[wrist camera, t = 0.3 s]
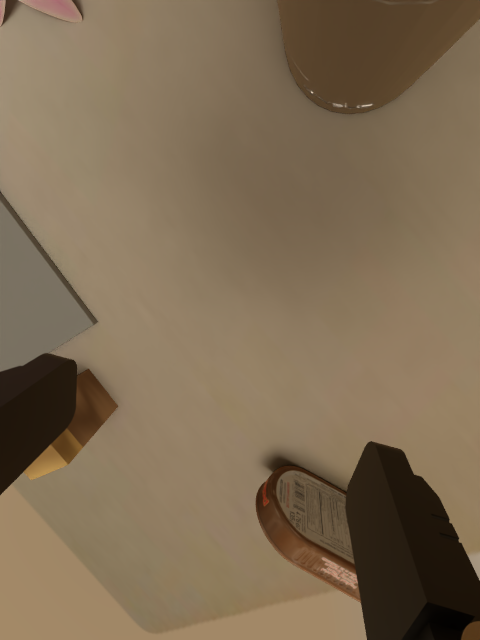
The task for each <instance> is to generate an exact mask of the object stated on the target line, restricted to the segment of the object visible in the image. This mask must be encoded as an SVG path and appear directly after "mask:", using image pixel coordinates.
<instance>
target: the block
mask: <svg viewBox="0 0 480 640" xmlns="http://www.w3.org/2000/svg"><path fill="white" fill-rule="evenodd" d="M117 407H118V405H117V404H116V403H115V402H114V400H113V399H112V398H111V397H110V395H109V394H108V393H107V391H106V390H105V389H104V388H103V386H102V385H101V384H100V383H99V381H98V380H97V379H96V377H95V376H94V375H93V374H92V372H91V371H90V370H89V369H88V370H86V371H84V372H82V373H80V374H79V375H77V393H76V410H75V414H74V417H73V419H72V421H71V423H70V424H69V426H68V427H67V429H66V430H65V431H64V432H63V433H62V434H61V435H60V436H59V437H58V438H57V439H56V440H55V441H54V442H53V443H52V444H51V445H50V446H49V447H48V448H47V449H46V450H45V451H44V452H43V453H42V454H41V455H40V456H39V457H38V458H37V459H36V460H35V461H34V462H33V463H32V464H31V465H30V466H29V467H28V468H27V469H26V470H25V471H24V473H25V474H26V475H27V476H28V477H29V478H30V479H31V480H33V479H35V478H38V477H40V476H42V475H45V474H47V473H50V472H52V471H54V470H57V469H59V468H61V467H64V466H66V465H68V464H69V463H70V462H71V461H72V460H73V458H74V457H75V456H76V455H77V454H78V453H79V451H80V450H81V449H82V448H83V447H84V446H85V444H86V443H87V442H88V441H89V440H90V439H91V437H92V436H93V435H94V434H95V433H96V432H97V430H98V429H99V428H100V427H101V426H102V425H103V423H104V422H105V421H106V420H107V419H108V418H109V416H110V415H111V414H112V413H113V412H114V411H115V409H116V408H117Z"/></svg>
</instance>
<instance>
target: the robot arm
mask: <svg viewBox="0 0 480 640" xmlns="http://www.w3.org/2000/svg"><path fill="white" fill-rule="evenodd" d="M277 3H278V9H279V15H280V22H281V29H282V35H283V41H284V47H285V53H286V57H287V61H288V64H289V68H290V71H291V73H292V75H293V77H294V79H295V81H296V83H297V85H298V86H299V87H300V89H301V90H302V91H303V92H304V93H305V95H306V96H307V97H308V98H309V99H311V100H312V101H313V102H315V103H316V104H317V105H319V106H321V107H323V108H325V109H328V110H330V111H332V112H338V113H345V114H353V113H364V112H367V111H370V110H373V109H376V108H379V107H381V106H383V105H385V104H387V103H388V102H390V101H392V100H394V99H396V98H397V97H398V96H399V95H400V94H402V93H403V92H404V91H405V90H406V89H408V88H409V87H410V86H411V85H412V84H413V83H414V82H415V81H416V80H417V79H418V78H419V77H420V76H421V75H422V74H423V73H424V72H425V71H427V70H428V69H429V68H430V67H431V66H432V65H433V64H434V63H435V62H436V61H437V60H438V59H439V58H440V57H441V56H442V55H443V54H444V53H445V52H446V51H447V50H448V49H449V48H450V47H451V46H452V45H454V44H455V43H456V42H457V41H458V40H459V39H460V38H461V37H462V36H463V35H464V34H465V33H466V32H467V31H468V30H469V29H470V28H471V27H472V26H473V25H474V24H475V23H476V22H477V21H478V20H479V19H480V0H277ZM76 393H77V364H76V362H75V361H74V360H71V359H67V358H64V357H60V356H56V355H53V354H49V353H44V354H42V355H40V356H38V357H36V358H35V359H33V360H31V361H30V362H28V363H27V364H25V365H23V366H17V367H14V368H10V369H7V370H4V371H1V372H0V495H1V494H2V493H3V492H4V491H5V490H6V489H7V488H8V487H9V486H10V485H11V484H12V483H13V482H14V481H15V480H16V479H17V478H18V477H19V476H20V475H21V474H22V473H23V472H24V471H25V470H26V469H27V468H28V467H29V466H30V465H31V464H32V463H33V462H34V461H35V460H36V459H37V458H38V457H39V456H40V455H41V454H42V453H43V452H44V451H45V450H46V449H47V448H48V447H49V446H50V445H51V444H52V443H53V442H54V441H55V440H56V439H57V438H58V437H59V436H60V435H61V434H62V433H63V432H64V431H65V430H66V429H67V427H68V426H69V424H70V423H71V421H72V419H73V417H74V414H75V410H76ZM346 515H347V521H348V527H349V533H350V539H351V545H352V551H353V557H354V563H355V569H356V575H357V581H358V587H359V593H360V599H361V605H362V612H363V618H364V623H365V629H366V636H367V640H480V581H479V578H478V577H477V574H476V572H475V570H474V568H473V566H472V564H471V562H470V560H469V558H468V556H467V554H466V552H465V550H464V548H463V546H462V543H459V541H458V539H459V537H458V535H457V533H456V531H455V529H454V527H453V525H452V523H449V517H448V515H447V513H446V511H445V509H444V507H443V504H442V502H441V500H440V498H439V497H438V495H437V494H436V493H435V492H434V491H433V490H432V488H431V487H430V486H429V485H428V484H427V483H426V481H425V480H424V479H423V478H422V477H421V476H417V475H414V474H413V472H412V469H411V467H410V465H409V462H408V460H407V458H406V455H405V453H404V452H403V451H402V450H401V449H398V448H394V447H390V446H387V445H383V444H379V443H375V442H372V441H371V442H368V444H367V445H366V446H365V448H364V451H363V453H362V455H361V458H360V460H359V462H358V464H357V467H356V469H355V471H354V473H353V476H352V478H351V480H350V483H349V485H348V488H347V493H346Z"/></svg>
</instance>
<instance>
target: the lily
mask: <svg viewBox="0 0 480 640" xmlns="http://www.w3.org/2000/svg"><path fill="white" fill-rule="evenodd" d="M18 1H20V2H22V3H24V4H26V5H28V6H30V7H32V8H34V9H36V10H39V11H41V12H43V13H46V14H48V15H51V16H53V17H56V18H59V19H62V20H65V21H69V22H74V23H78V22H80V21H82V16H81V14H80V12H79V11H78V9H77V8H76V6H75V4H74V3H73V2H72V0H18ZM5 2H6V0H0V27H1V25H2V22H3V18H4V12H5Z"/></svg>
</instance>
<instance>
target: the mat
mask: <svg viewBox="0 0 480 640" xmlns="http://www.w3.org/2000/svg"><path fill="white" fill-rule="evenodd" d="M96 323H97V321H96V319H95V318H94V317H93V315H92V314H91V313H90V311H89V310H88V309H87V307H86V306H85V305H84V303H83V302H82V301H81V299H80V298H79V297H78V295H77V294H76V293H75V291H74V290H73V289H72V287H71V286H70V285H69V283H68V282H67V281H66V279H65V278H64V277H63V275H62V274H61V273H60V271H59V270H58V269H57V267H56V266H55V265H54V263H53V262H52V261H51V259H50V258H49V257H48V255H47V254H46V253H45V251H44V250H43V249H42V247H41V246H40V245H39V243H38V242H37V241H36V239H35V238H34V237H33V235H32V234H31V233H30V231H29V230H28V229H27V227H26V226H25V225H24V223H23V222H22V221H21V219H20V218H19V217H18V215H17V214H16V213H15V211H14V210H13V208H12V207H11V206H10V204H9V203H8V202H7V200H6V199H5V198H4V196H3V195H2V194H1V192H0V372H1V371H4V370H7V369H10V368H14V367H17V366H23V365H25V364H27V363H28V362H30V361H31V360H33V359H35V358H36V357H38V356H40V355H42V354H44V353H49V352H51V351H52V350H54V349H55V348H57V347H59V346H60V345H62V344H63V343H65V342H67V341H68V340H70V339H71V338H73V337H75V336H76V335H78V334H80V333H81V332H83V331H84V330H86V329H88V328H89V327H91V326H92V325H94V324H96Z"/></svg>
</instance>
